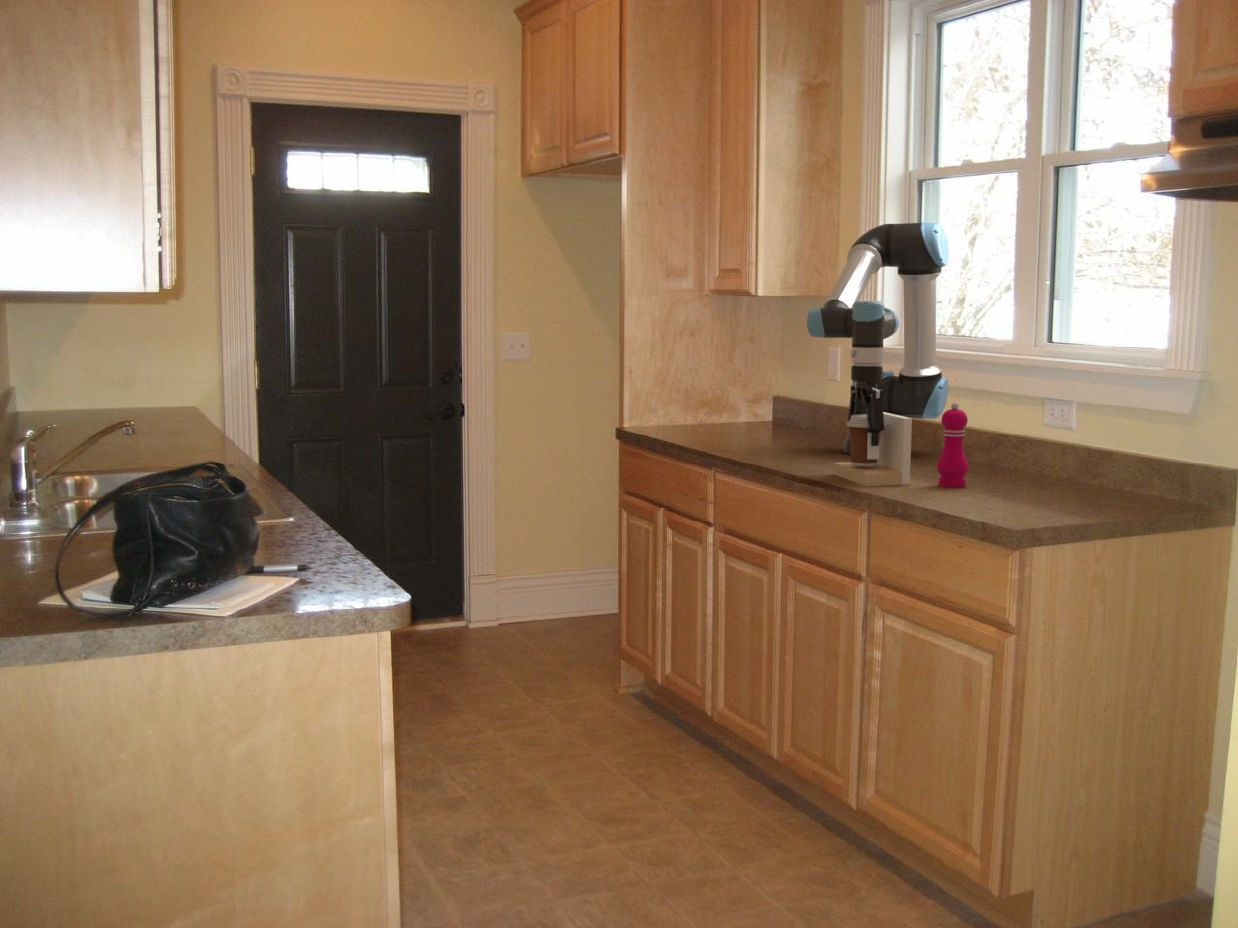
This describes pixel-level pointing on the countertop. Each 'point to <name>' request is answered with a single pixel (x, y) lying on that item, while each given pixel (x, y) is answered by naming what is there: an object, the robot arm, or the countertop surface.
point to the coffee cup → (859, 440)
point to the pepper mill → (953, 449)
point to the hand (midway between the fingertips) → (864, 456)
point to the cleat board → (885, 456)
